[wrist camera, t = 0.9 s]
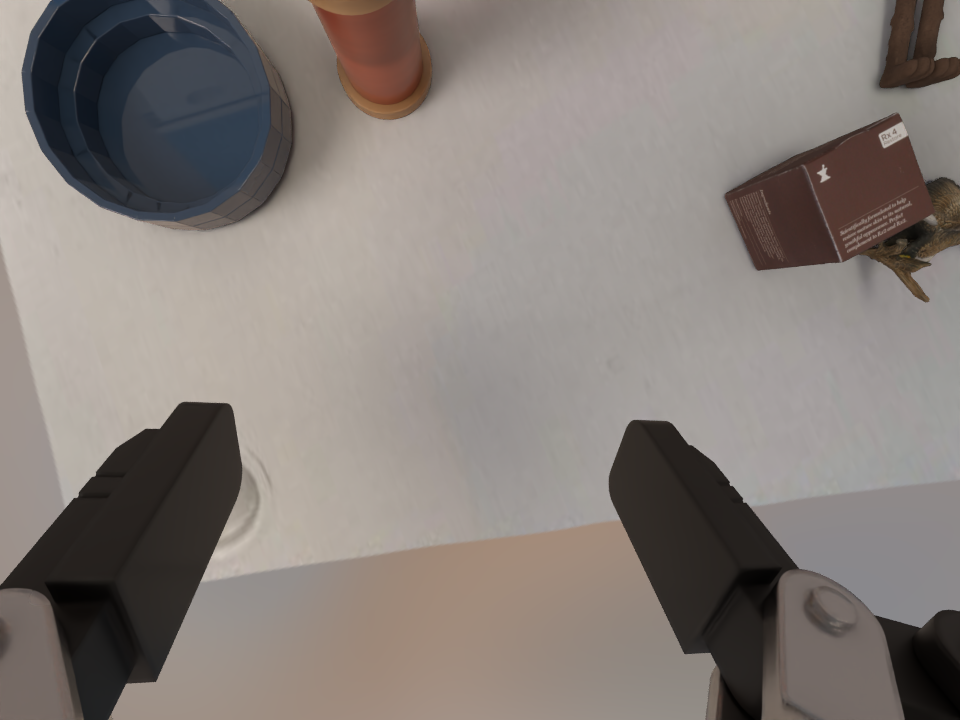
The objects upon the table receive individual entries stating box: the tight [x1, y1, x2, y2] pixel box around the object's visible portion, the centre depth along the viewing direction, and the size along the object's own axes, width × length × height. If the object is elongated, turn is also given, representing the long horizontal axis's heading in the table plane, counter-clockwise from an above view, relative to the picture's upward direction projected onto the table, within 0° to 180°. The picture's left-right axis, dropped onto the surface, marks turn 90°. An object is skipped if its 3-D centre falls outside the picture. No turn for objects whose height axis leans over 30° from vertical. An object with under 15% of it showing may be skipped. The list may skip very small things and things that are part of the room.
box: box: [725, 113, 935, 271], centre depth 28 cm, size 6×6×7 cm
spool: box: [308, 0, 432, 119], centre depth 23 cm, size 6×6×12 cm
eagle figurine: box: [860, 177, 960, 302], centre depth 30 cm, size 8×7×9 cm
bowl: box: [22, 0, 292, 230], centre depth 27 cm, size 13×13×4 cm
